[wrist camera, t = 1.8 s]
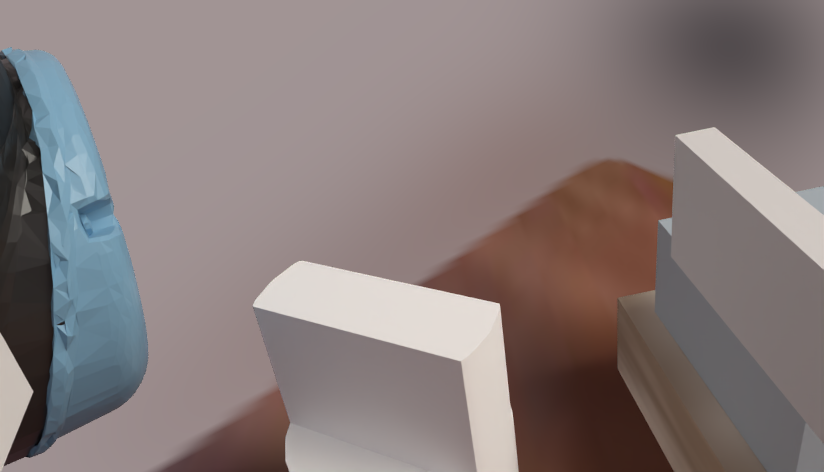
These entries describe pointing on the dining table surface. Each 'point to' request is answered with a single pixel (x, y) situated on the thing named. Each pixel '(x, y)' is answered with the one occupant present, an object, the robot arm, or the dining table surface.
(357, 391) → the cylinder with rectangular tab
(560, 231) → the dining table surface
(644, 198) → the dining table surface
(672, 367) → the base block
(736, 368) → the grey flat square block
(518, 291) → the dining table surface
